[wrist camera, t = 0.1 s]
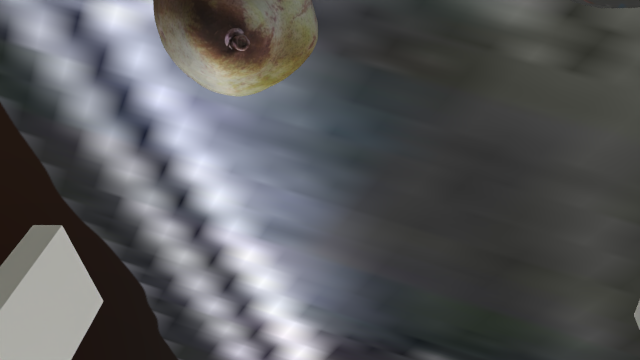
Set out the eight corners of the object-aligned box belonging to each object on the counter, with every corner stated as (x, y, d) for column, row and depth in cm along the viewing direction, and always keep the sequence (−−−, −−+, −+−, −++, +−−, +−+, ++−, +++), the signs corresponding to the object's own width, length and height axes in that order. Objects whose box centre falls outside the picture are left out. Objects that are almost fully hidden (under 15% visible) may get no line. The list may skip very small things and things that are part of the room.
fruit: (350, -21, 36) (330, 59, 27) (281, 83, 41) (245, 179, 32) (212, -116, 34) (137, -64, 24) (158, 8, 39) (80, 89, 30)
